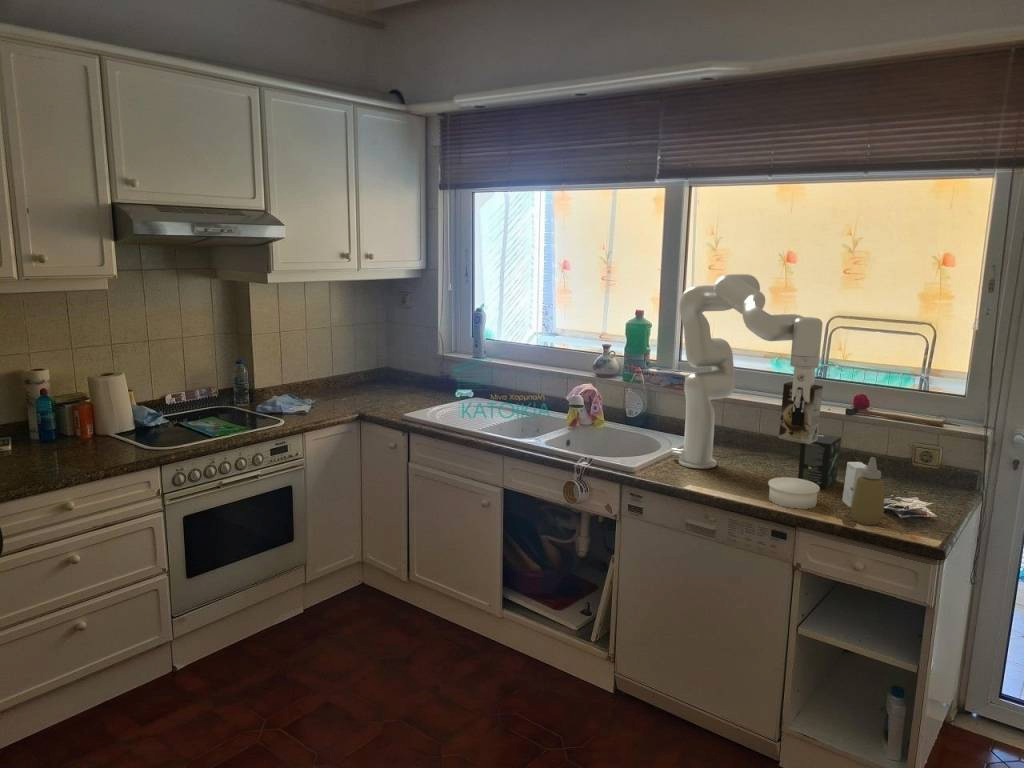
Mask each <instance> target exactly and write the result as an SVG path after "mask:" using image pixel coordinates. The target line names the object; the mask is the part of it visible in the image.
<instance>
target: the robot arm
mask: <svg viewBox="0 0 1024 768" xmlns="http://www.w3.org/2000/svg"><path fill="white" fill-rule="evenodd" d="M765 304H766V296H765V294H764V293H763V292H761V285H760V282H759V280H758V279H757V278H756V277H755V276H754V275H752V274H743V273H742V274H741V273H740V274H739V273H737V274H735V273H734V274H731V273H730V274H726V275H725V274H724V275H722V276H721V277H719V278H718V279H717V280H716V282H715V284H713V285H706V284H705V285H695V286H691V287H689V288H687V289H686V290H685V291H683V293H682V294H681V297H680V300H679V313H680V318H681V322H682V325H683V326H682V327H683V335H684V338H683V339H684V345H685V346H684V347H685V355H686V361H687V363H688V365H689V366H690V367H691V368H696V369H697V368H698V369H699V368H701V369H702V368H711V370H707V371H706V370H704V371H697V372H693V373H691V374H689V375H688V376H686V378H685V380H684V385H683V390H684V394H685V396H684V397H685V422H684V423H685V424H684V438H683V439H684V440H683V441H684V442H683V448H681V449H680V448H674V447H672V448H671V454H672V455H673V456H679V458H678V463H679V465H681V466H683V467H687V468H691V469H698V470H700V469H701V470H704V469H706V470H707V469H711V468H715V467H716V466H717V460H716V459H714V458H713V451H714V450H713V449H714V435H715V422H716V420H715V418H716V413H715V408H714V406H713V404H712V401H711V400H720V399H726V398H729V397H730V396H732V395H733V393H734V391H735V389H736V378H735V366H734V364H735V363H734V355H733V350H732V347H731V345H730V343H729V342H728V341H727V340H725V339H723V338H719V337H718V338H717V337H716V338H715V337H714V338H713V337H712V334H711V326H710V323H709V321H708V319H707V317H706V316H705V315H704V314H703V313H704V312H723V311H729V310H732V309H734V310H735V311H736V312H738V313H739V314H741V315H742V320H743V323H744V324H745V327H746V328H747V329H748V330H749V331H750V332H752V333H753V334H754V335H755V336H757V337H759V338H760V339H761V340H764V341H766V342H782V341H783V342H784V341H791V352H790V363H789V366H790V367H792V368H793V375H792V381H793V386H792V401H793V402H794V406H793V411H792V421H791V425H794V426H803V425H804V414H805V412H804V405H805V402H807V403H810V394H811V388H812V387H813V386H814V385H815V381H816V379H815V378H816V369H819V367H820V366H819V365H820V359H821V358H820V357H821V345H822V334H823V321H822V320H821V319H820V318H819V317H811V316H810V317H809V316H802V315H800V314H796V313H795V314H794V313H792V314H791V313H790V314H785V313H781V314H771V313H768V312H766V311H765V310H764V307H765ZM802 392H803V394H802ZM801 396H803V398H804V400H803V401H801ZM794 397H795V399H794ZM801 404H802V405H801Z"/></svg>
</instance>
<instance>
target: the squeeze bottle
mask: <svg viewBox="0 0 1024 768" xmlns="http://www.w3.org/2000/svg"><path fill="white" fill-rule="evenodd" d="M866 466H867V469H863V470H862V476H860V477H859V478H858V479H857V483H856V487H855V492H854V496H853V501H852V505H851V511H852V515H853V516H852V517H853V520H854V521H855V522H856V523H859V524H861V525H867V526H875V525H878V524H879V522H880V520H881V518H882V516H883V514H884V513H885V481H884V480H883V479H881V477H882V472H881V470H878V466H877V458H876V457H873V456H871V457H870V459H869V462H868V464H867V465H866Z"/></svg>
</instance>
